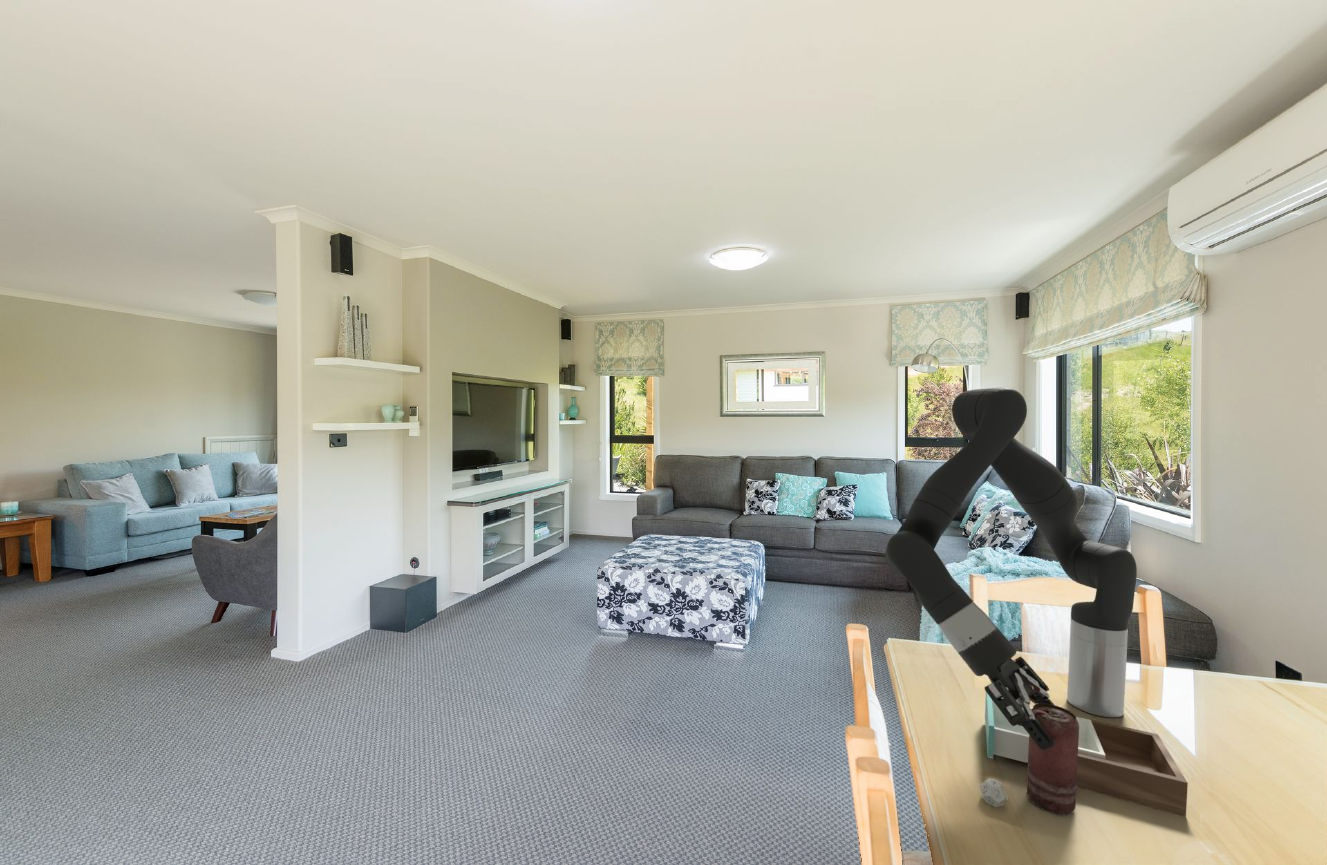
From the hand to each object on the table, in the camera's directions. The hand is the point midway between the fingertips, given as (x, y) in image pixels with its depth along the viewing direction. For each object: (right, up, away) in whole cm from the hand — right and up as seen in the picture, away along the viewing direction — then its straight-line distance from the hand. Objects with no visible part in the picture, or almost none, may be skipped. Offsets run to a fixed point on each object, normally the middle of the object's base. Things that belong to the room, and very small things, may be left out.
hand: (1055, 735), depth 86 cm
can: (-1, -11, +1) cm, 11 cm away
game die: (-9, -11, +1) cm, 14 cm away
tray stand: (+14, -11, +9) cm, 20 cm away
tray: (+6, -9, +13) cm, 17 cm away
